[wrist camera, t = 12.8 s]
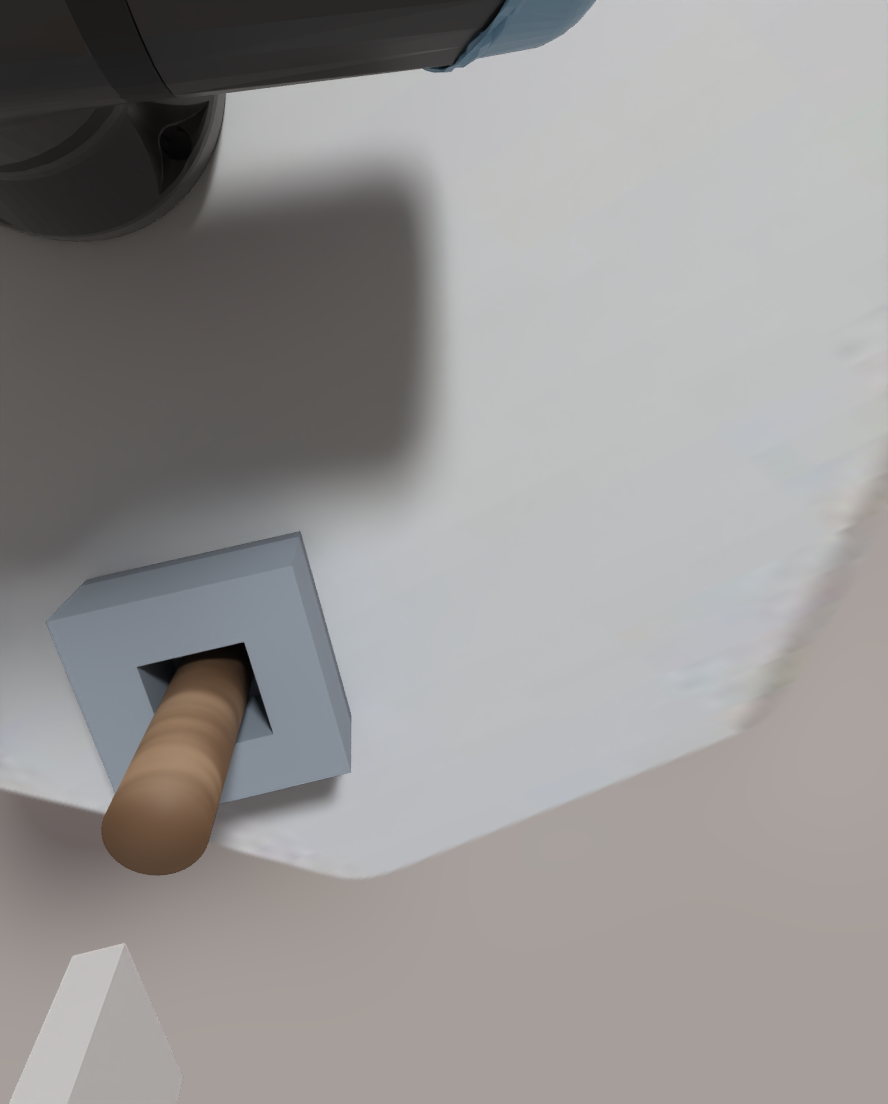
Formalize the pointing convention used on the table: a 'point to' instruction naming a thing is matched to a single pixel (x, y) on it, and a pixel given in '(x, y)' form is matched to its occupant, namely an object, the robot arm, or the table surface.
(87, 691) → the socket block
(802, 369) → the table surface
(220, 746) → the walnut dowel
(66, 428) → the table surface
